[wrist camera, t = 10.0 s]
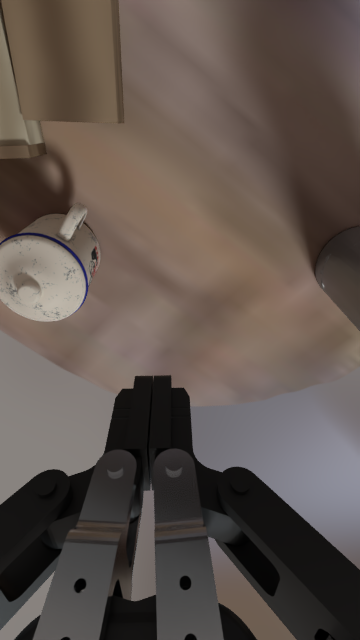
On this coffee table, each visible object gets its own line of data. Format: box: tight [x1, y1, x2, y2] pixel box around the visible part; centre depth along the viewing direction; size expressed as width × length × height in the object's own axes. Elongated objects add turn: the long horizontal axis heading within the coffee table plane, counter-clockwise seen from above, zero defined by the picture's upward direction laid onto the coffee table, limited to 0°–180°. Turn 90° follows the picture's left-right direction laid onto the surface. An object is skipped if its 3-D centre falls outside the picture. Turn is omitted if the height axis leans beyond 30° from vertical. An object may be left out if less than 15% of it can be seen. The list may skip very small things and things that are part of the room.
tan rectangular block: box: [1, 0, 124, 123], centre depth 27 cm, size 8×12×5 cm, turn 178°
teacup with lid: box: [0, 203, 100, 321], centre depth 33 cm, size 12×9×12 cm
